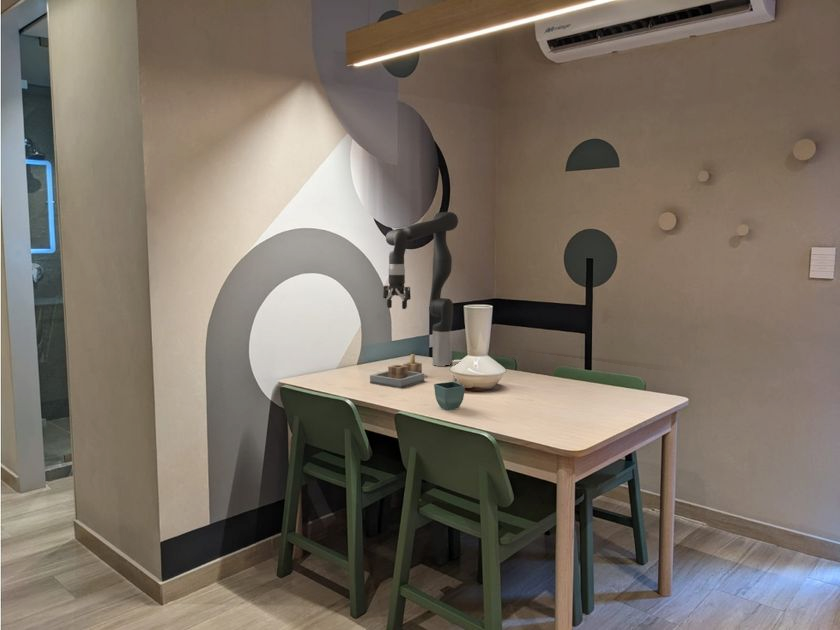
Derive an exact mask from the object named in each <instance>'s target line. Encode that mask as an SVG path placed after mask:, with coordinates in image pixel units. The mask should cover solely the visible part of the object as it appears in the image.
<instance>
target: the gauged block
mask: <svg viewBox="0 0 840 630" xmlns="http://www.w3.org/2000/svg"><path fill="white" fill-rule="evenodd" d="M409 356H410V359H409V360H410V361H408V362H403V363H402V365H403V366H408V371H411V372H418V373H423V369H422V366H423V363H422V362H418V361H417V362H416V361H415V360H416V354H414V353H413V354H410V355H409Z"/></svg>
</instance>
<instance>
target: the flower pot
mask: <svg viewBox="0 0 840 630" xmlns="http://www.w3.org/2000/svg"><path fill="white" fill-rule="evenodd" d="M433 388H434V396H435V400H436V402H437V404H438V406H439V407H440V408H442V409H444V410H446V411H450V410H451V411H452V410H457V409H456V408H458V409H459V408H460V406H461V405H462V403H463V402H464V401H463V400H464V397H465V391H466V389H465V386H464V385H461V384H458V383H456V382H453V381H448V382H439V383H433Z"/></svg>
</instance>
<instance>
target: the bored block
mask: <svg viewBox="0 0 840 630" xmlns="http://www.w3.org/2000/svg"><path fill="white" fill-rule="evenodd" d="M387 371H388V377H390V378H396V379H403V378H406V377H408V366H403V364H394V365H389V366H388V369H387Z"/></svg>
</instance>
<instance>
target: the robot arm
mask: <svg viewBox="0 0 840 630" xmlns="http://www.w3.org/2000/svg"><path fill="white" fill-rule="evenodd" d="M458 224H459V218H458V216H457V214H455V213H454V212H452V211H443V212H442V211H441V212H437V213H436V214H435V215H434V217H433V219H432V220H428V221H427V220H426V221H421V222H417V223H414V224H411V225H408V226H406V227H401V228H397V229H393V230H390V231H388V232H387V233H386V236H385V241H386V243H387V244H388V245H390V246H393V250H392V251H390V252H389V256H388V284H389V285H383V291H382V292H383V295H382V296H383V299H386V307H387V308H388V309H392V306H393V305H392V301H393V300H392V299H393V298H394V296H396V297H398V296H399V298H400V299H401V300H402V301H401V304H402V305H401V308H402V310H407V308H408V301H409V300H411V286H405V283H406V276H405V274H406V271H405V268H406V267H405V254H406V250H407V244H408V242H412V241H415V240H418V239H422V238H424V237H427V236H430V235H433V258H432V279H431V289H430V298H429V304H428V305H429V306H428V307H429V309H428V310H429V313H430V315H431V316H432V317H438V318H441V320H440V321H439V322H437V323H435V324H433V325H432V365H433V366H434V365H436V366H435V367H444V366H443V365H449V364H451V363H452V364H453V345H452V326H453V321H454V319H453V318H454V304H453V301H452V300H451V299H450V298H443V297H441V296H442V295H441V294H442V290H443V288H444V285H445V283H446V282H447V280H448V278H449V277H450V275H451V272H452V268H453V267H452V265H453V263H452V262H453V261H452V260H453V259H452V255H451V251H450V249H449V247H448V245H447V244H448V243H447V232H450V231H453V230H455V229H456V228H457V227H458ZM452 364H451V365H452Z"/></svg>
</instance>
